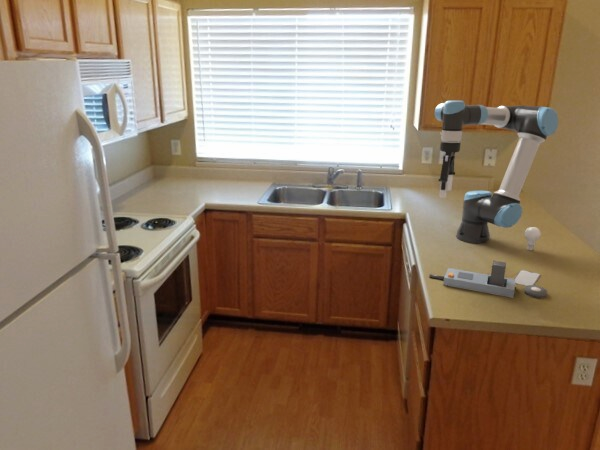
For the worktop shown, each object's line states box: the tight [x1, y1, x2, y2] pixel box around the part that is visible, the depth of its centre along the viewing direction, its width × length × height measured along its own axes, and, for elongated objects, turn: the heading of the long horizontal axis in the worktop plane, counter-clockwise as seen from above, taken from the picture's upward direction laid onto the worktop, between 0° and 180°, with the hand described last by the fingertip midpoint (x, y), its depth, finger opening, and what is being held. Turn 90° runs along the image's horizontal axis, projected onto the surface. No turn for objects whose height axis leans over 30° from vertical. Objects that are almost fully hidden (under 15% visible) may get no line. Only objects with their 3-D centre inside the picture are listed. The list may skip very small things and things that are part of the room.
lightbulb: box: [524, 226, 542, 251], centre depth 206 cm, size 6×6×11 cm
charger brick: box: [489, 260, 507, 287], centre depth 168 cm, size 4×5×10 cm
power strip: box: [429, 267, 516, 299], centre depth 173 cm, size 10×30×4 cm, turn 64°
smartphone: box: [513, 269, 541, 287], centre depth 179 cm, size 7×1×15 cm
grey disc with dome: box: [524, 284, 548, 299], centre depth 166 cm, size 7×7×2 cm
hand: (445, 193), depth 188 cm, fingers open, 13 cm apart
